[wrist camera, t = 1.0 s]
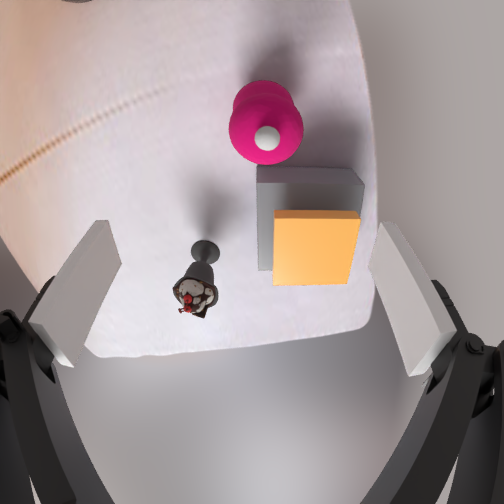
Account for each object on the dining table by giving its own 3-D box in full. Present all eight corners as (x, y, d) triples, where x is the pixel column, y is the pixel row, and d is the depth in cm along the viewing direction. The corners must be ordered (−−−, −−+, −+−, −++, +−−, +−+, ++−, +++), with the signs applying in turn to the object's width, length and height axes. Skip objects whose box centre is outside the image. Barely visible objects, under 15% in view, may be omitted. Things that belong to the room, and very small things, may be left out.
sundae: (192, 230, 46) (170, 296, 34) (230, 244, 48) (221, 313, 36) (181, 259, 50) (160, 325, 38) (216, 272, 52) (205, 340, 40)
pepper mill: (255, 69, 32) (254, 69, 15) (301, 99, 34) (341, 132, 18) (224, 111, 35) (194, 154, 19) (269, 140, 37) (278, 206, 21)
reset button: (272, 192, 37) (274, 218, 32) (345, 193, 37) (360, 219, 32) (271, 253, 43) (272, 285, 38) (336, 252, 43) (346, 283, 37)
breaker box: (256, 166, 40) (256, 182, 35) (352, 168, 39) (365, 185, 35) (258, 247, 48) (257, 270, 43) (340, 246, 48) (348, 269, 43)
